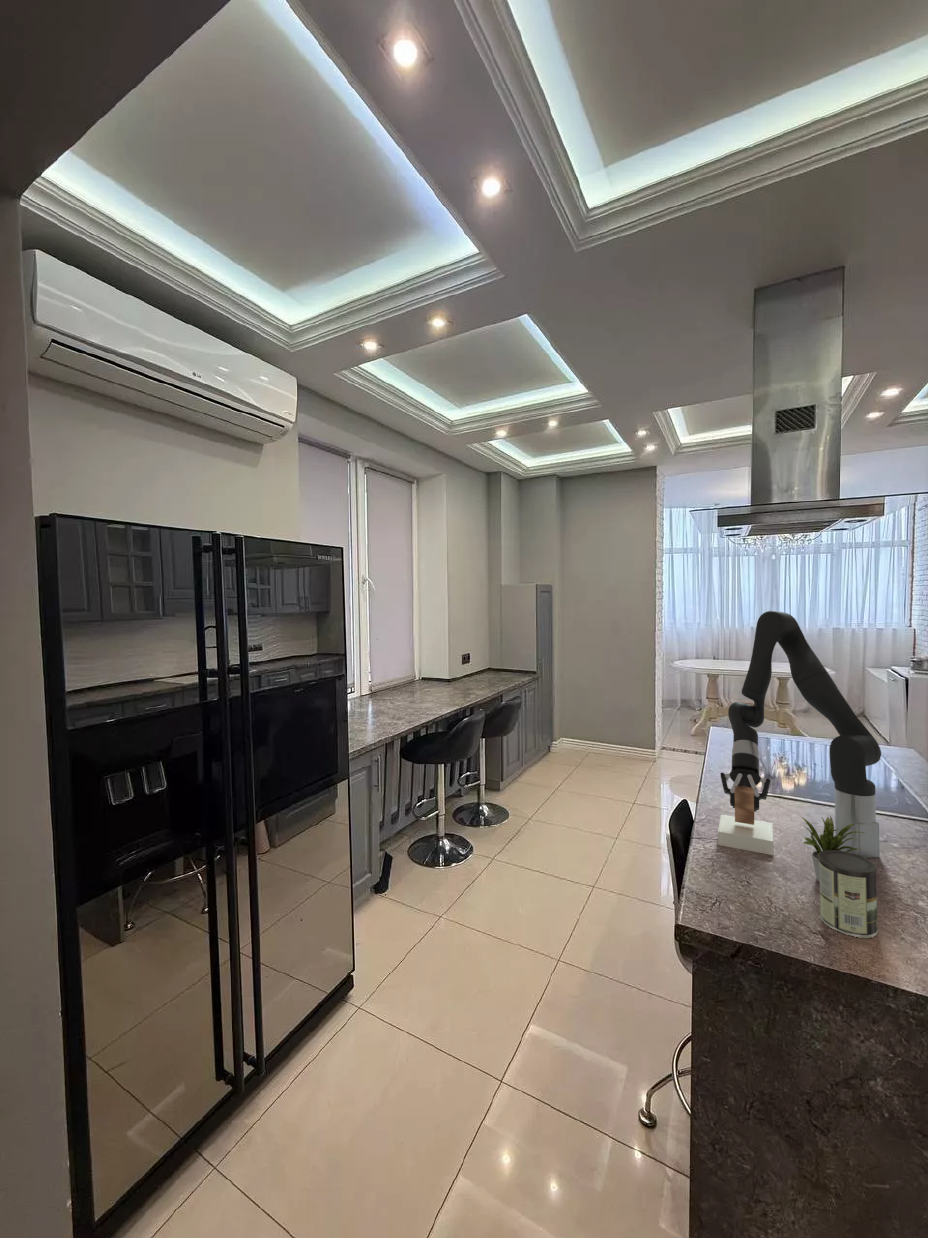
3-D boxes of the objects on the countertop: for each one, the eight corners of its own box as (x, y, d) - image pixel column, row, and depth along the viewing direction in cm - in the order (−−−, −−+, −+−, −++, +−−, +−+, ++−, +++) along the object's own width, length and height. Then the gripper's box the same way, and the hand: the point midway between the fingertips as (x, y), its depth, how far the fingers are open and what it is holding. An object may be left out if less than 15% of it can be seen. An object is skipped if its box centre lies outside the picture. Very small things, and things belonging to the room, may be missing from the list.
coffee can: (853, 909, 116) (852, 849, 116) (890, 938, 106) (889, 872, 106) (808, 910, 116) (807, 849, 116) (840, 939, 106) (839, 873, 106)
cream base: (772, 835, 154) (772, 822, 154) (773, 855, 142) (773, 841, 142) (721, 827, 161) (721, 814, 161) (718, 844, 149) (717, 831, 149)
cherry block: (754, 818, 153) (754, 787, 153) (754, 825, 149) (753, 793, 148) (735, 815, 155) (735, 785, 155) (734, 821, 151) (734, 790, 151)
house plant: (882, 902, 119) (881, 833, 118) (816, 897, 121) (815, 830, 121) (849, 871, 133) (848, 810, 132) (791, 867, 135) (790, 807, 135)
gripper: (719, 749, 162) (716, 799, 152) (771, 754, 154) (772, 807, 144) (720, 761, 166) (718, 810, 156) (771, 767, 159) (772, 819, 149)
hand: (744, 808), depth 150 cm, fingers closed on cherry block, 5 cm apart
